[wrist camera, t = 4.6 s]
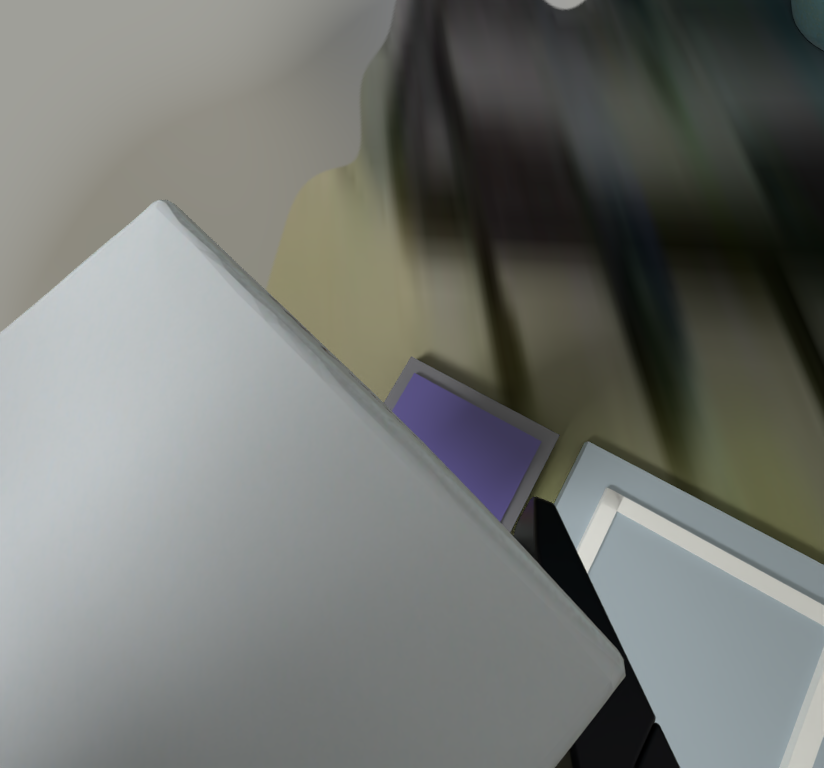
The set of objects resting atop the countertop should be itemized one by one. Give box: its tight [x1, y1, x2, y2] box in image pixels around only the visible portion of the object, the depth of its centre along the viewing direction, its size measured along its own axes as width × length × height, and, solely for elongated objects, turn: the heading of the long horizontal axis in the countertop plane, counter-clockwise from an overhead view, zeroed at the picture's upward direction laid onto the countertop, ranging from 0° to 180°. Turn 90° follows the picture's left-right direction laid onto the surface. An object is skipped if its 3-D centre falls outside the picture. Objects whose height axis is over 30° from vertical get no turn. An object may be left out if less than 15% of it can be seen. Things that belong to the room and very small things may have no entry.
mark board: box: [554, 442, 824, 768], centre depth 17 cm, size 15×15×1 cm
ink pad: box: [384, 357, 560, 532], centre depth 20 cm, size 12×9×1 cm
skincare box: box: [0, 200, 626, 768], centre depth 9 cm, size 6×4×12 cm
